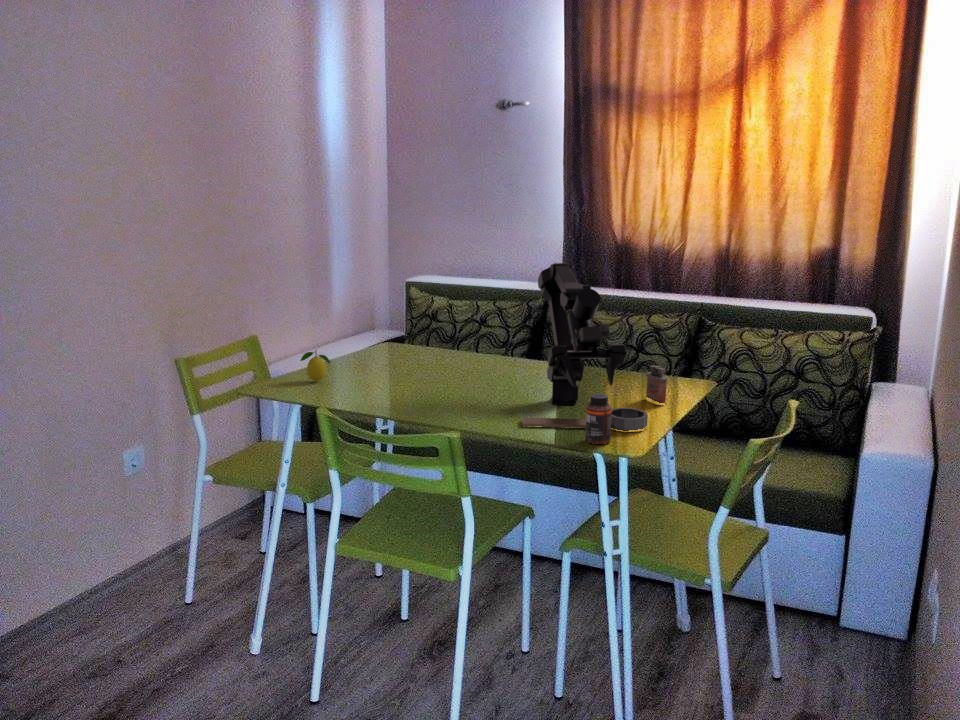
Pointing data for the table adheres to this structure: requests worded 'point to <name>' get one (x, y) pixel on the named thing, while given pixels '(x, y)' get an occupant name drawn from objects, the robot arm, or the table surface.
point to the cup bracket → (619, 420)
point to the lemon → (316, 366)
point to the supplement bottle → (598, 420)
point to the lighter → (656, 384)
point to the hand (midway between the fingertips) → (592, 385)
